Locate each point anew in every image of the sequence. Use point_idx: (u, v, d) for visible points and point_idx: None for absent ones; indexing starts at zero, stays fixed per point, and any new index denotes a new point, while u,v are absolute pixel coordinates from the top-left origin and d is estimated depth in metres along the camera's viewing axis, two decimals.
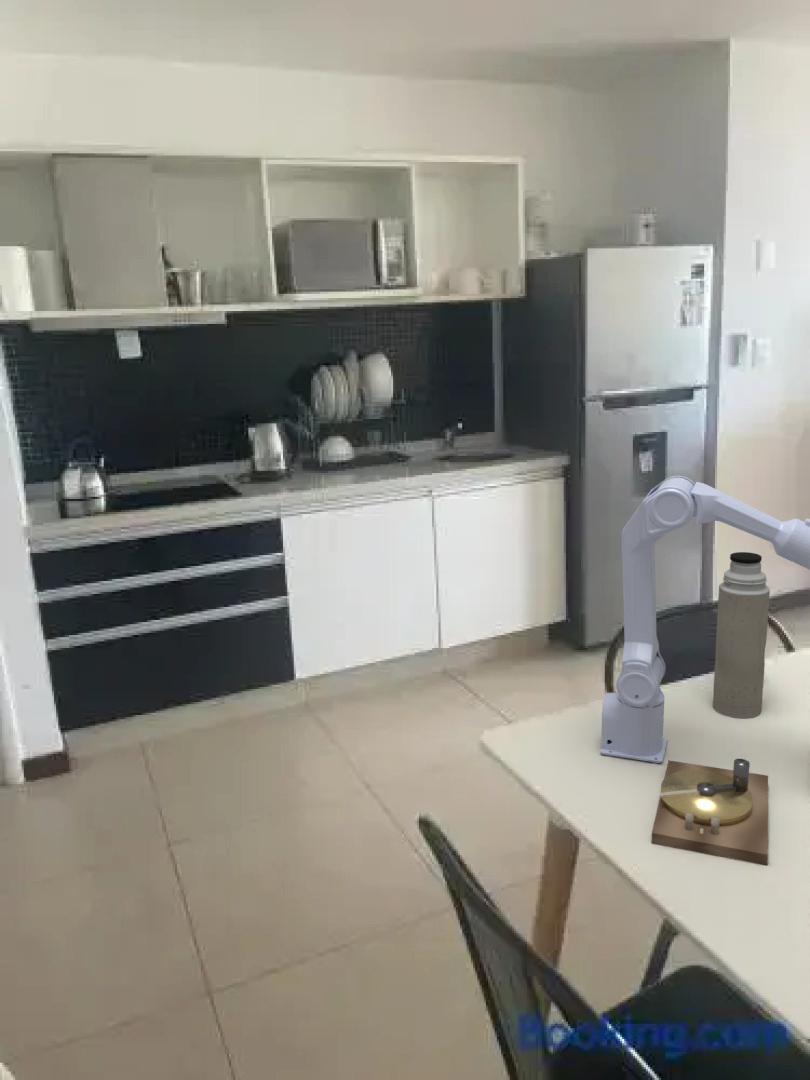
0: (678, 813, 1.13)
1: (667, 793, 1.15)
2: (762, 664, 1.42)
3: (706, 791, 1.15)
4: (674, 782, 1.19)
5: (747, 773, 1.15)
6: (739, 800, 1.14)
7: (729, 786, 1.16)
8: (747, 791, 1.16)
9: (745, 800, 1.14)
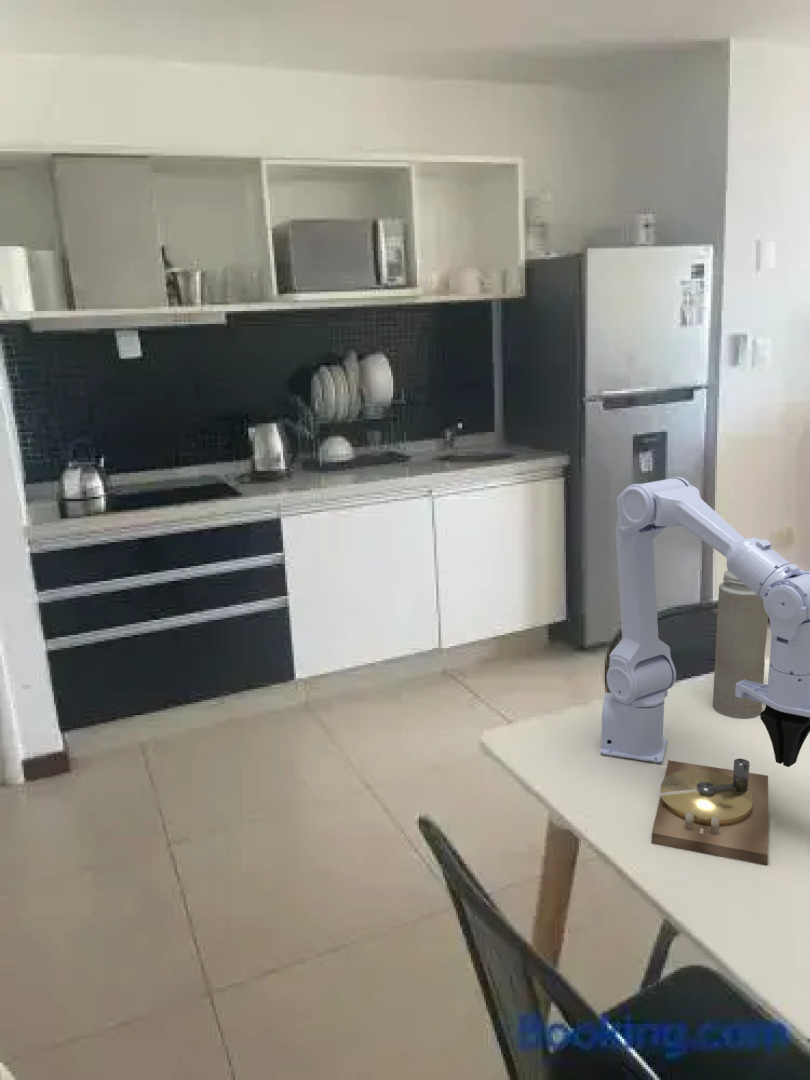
0: (678, 813, 1.13)
1: (667, 793, 1.15)
2: (762, 664, 1.42)
3: (706, 791, 1.15)
4: (674, 782, 1.19)
5: (747, 773, 1.15)
6: (739, 800, 1.14)
7: (729, 786, 1.16)
8: (747, 791, 1.16)
9: (745, 800, 1.14)
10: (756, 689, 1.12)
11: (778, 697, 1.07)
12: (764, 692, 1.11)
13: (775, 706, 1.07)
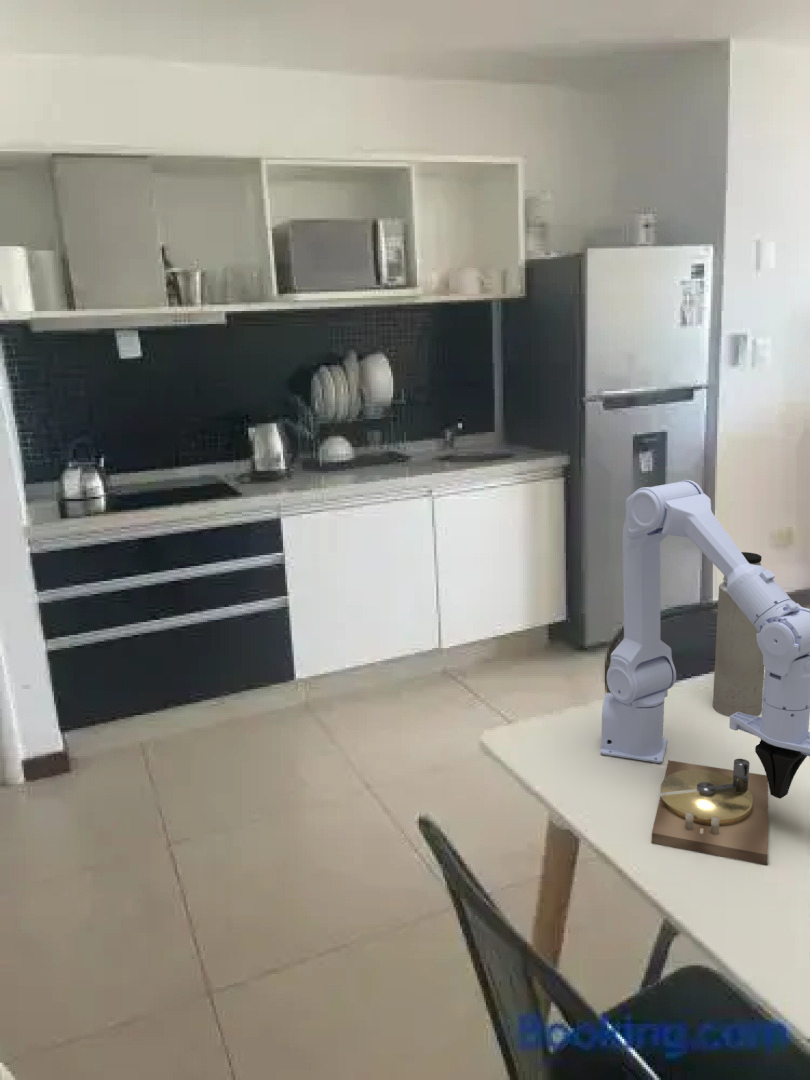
0: (678, 813, 1.13)
1: (667, 793, 1.15)
2: (762, 664, 1.42)
3: (706, 791, 1.15)
4: (674, 782, 1.19)
5: (747, 773, 1.15)
6: (739, 800, 1.14)
7: (729, 786, 1.16)
8: (747, 791, 1.16)
9: (745, 800, 1.14)
10: (750, 722, 1.13)
11: (771, 732, 1.08)
12: (758, 725, 1.13)
13: (768, 740, 1.09)
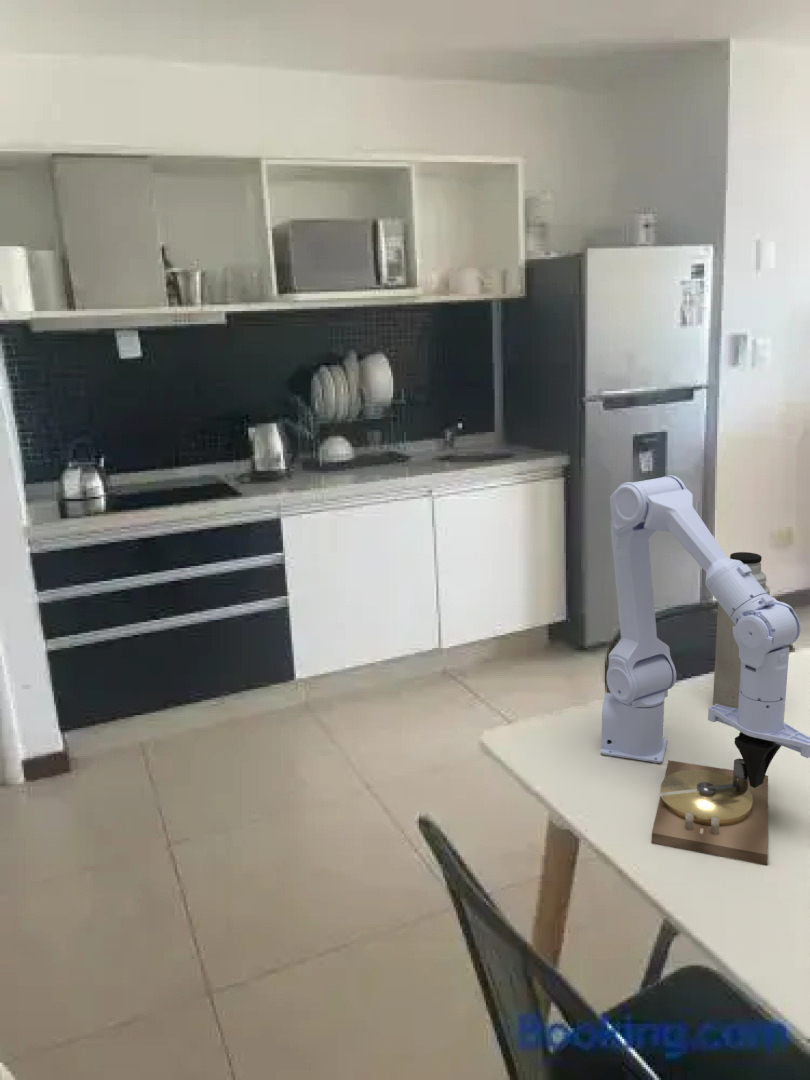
0: (678, 813, 1.13)
1: (667, 793, 1.15)
2: None
3: (706, 791, 1.15)
4: (674, 782, 1.19)
5: None
6: (739, 800, 1.14)
7: (729, 786, 1.16)
8: (747, 791, 1.16)
9: (745, 800, 1.14)
10: (727, 714, 1.16)
11: (747, 723, 1.11)
12: (735, 717, 1.15)
13: (745, 731, 1.11)
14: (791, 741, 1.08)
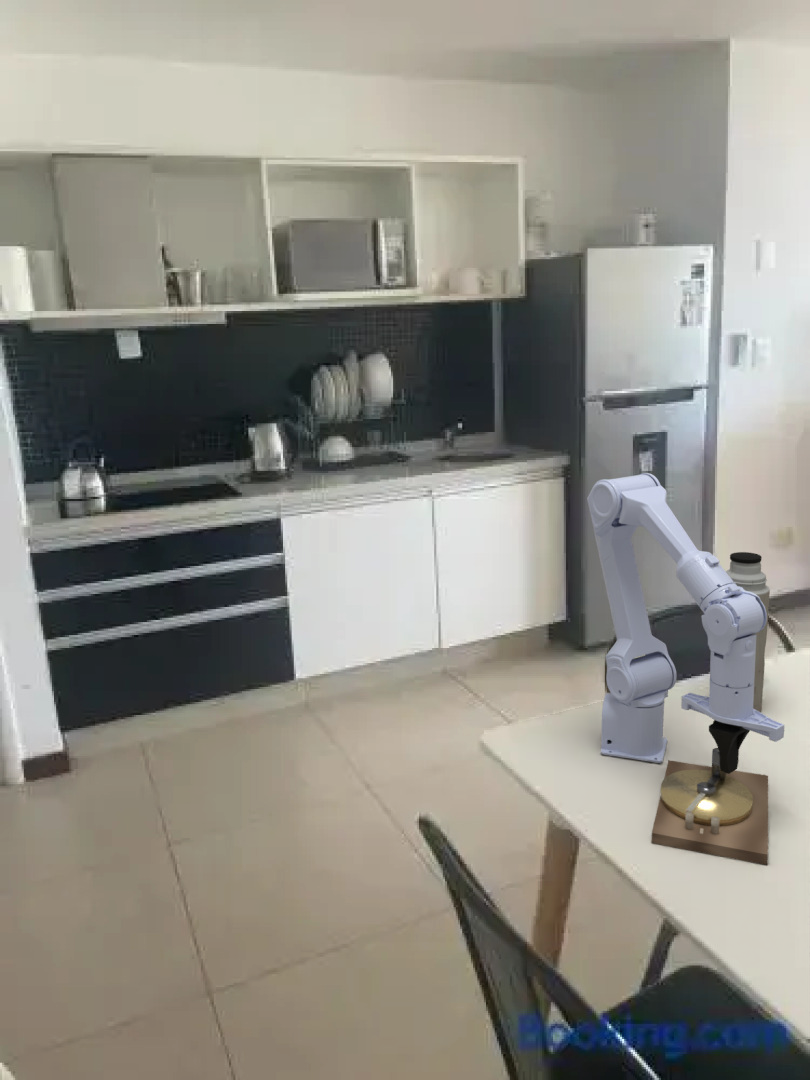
0: None
1: (691, 807, 1.12)
2: (762, 664, 1.42)
3: (712, 790, 1.15)
4: (675, 794, 1.16)
5: None
6: (734, 787, 1.17)
7: (715, 778, 1.18)
8: (726, 776, 1.20)
9: (738, 785, 1.17)
10: (700, 701, 1.19)
11: (717, 709, 1.14)
12: (707, 704, 1.19)
13: (715, 717, 1.15)
14: (759, 725, 1.11)
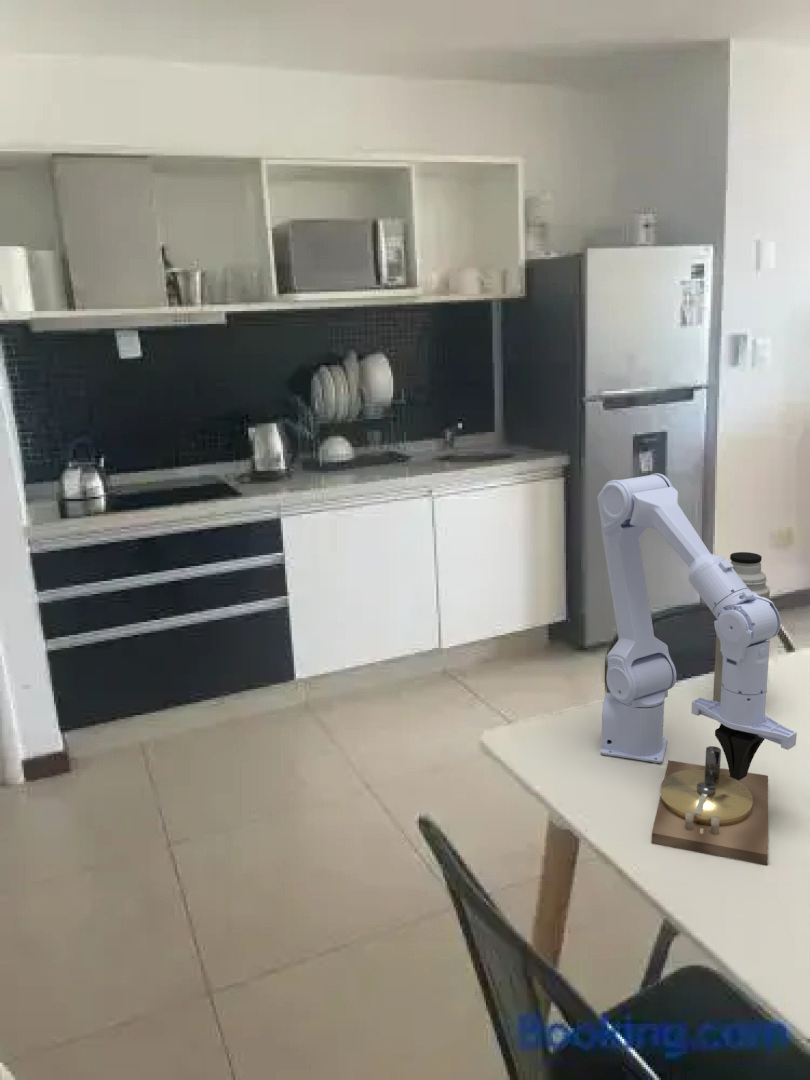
0: (721, 822, 1.10)
1: (698, 809, 1.11)
2: None
3: (714, 790, 1.15)
4: (677, 797, 1.15)
5: None
6: (731, 784, 1.18)
7: (711, 777, 1.19)
8: (720, 774, 1.20)
9: (733, 782, 1.18)
10: (710, 707, 1.18)
11: (729, 716, 1.13)
12: (718, 710, 1.17)
13: (726, 724, 1.13)
14: (771, 733, 1.10)
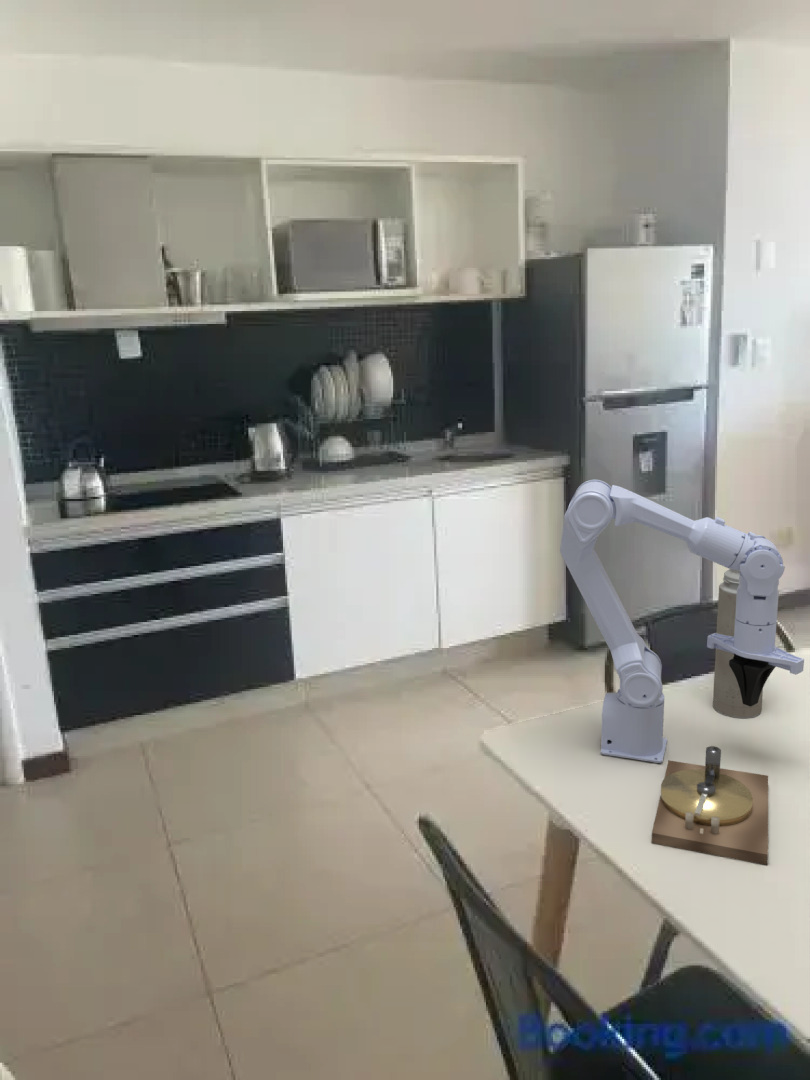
0: (721, 822, 1.10)
1: (698, 809, 1.11)
2: None
3: (714, 790, 1.15)
4: (677, 797, 1.15)
5: None
6: (731, 784, 1.18)
7: (711, 777, 1.19)
8: (720, 774, 1.20)
9: (733, 782, 1.18)
10: (725, 640, 1.29)
11: (742, 646, 1.24)
12: (731, 643, 1.28)
13: (740, 653, 1.24)
14: (781, 660, 1.21)
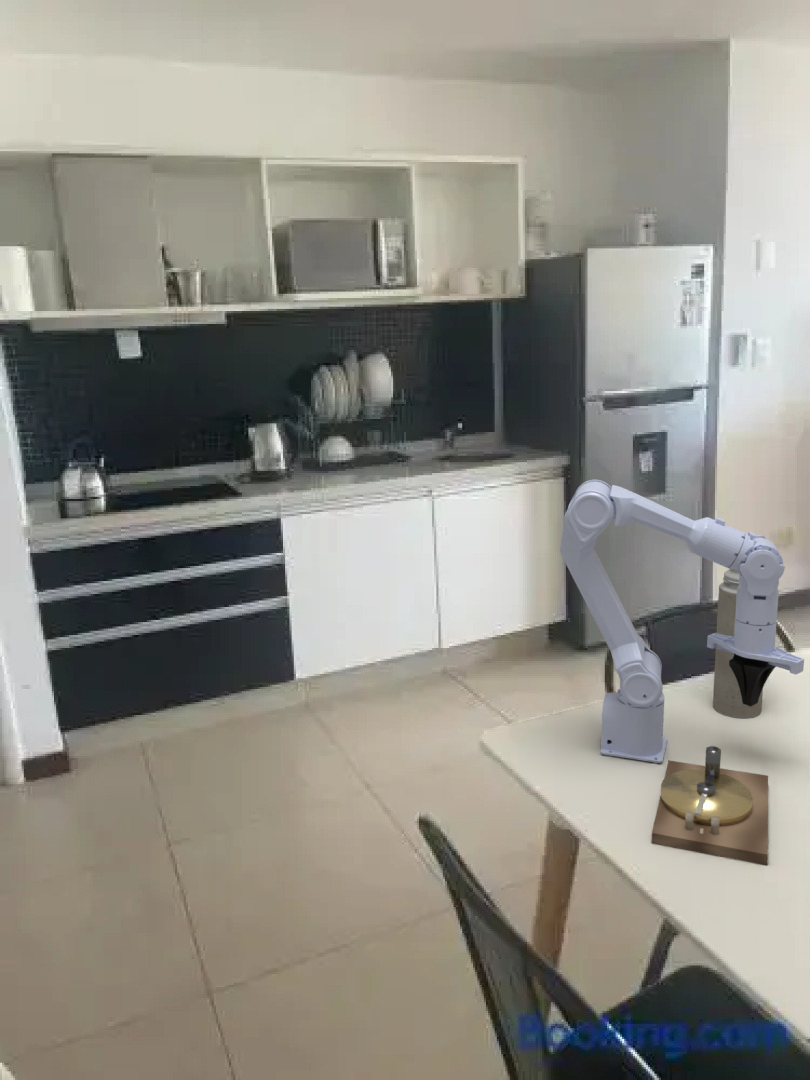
0: (721, 822, 1.10)
1: (698, 809, 1.11)
2: None
3: (714, 790, 1.15)
4: (677, 797, 1.15)
5: None
6: (731, 784, 1.18)
7: (711, 777, 1.19)
8: (720, 774, 1.20)
9: (733, 782, 1.18)
10: (724, 640, 1.29)
11: (742, 646, 1.24)
12: (731, 643, 1.28)
13: (740, 653, 1.24)
14: (781, 660, 1.21)
